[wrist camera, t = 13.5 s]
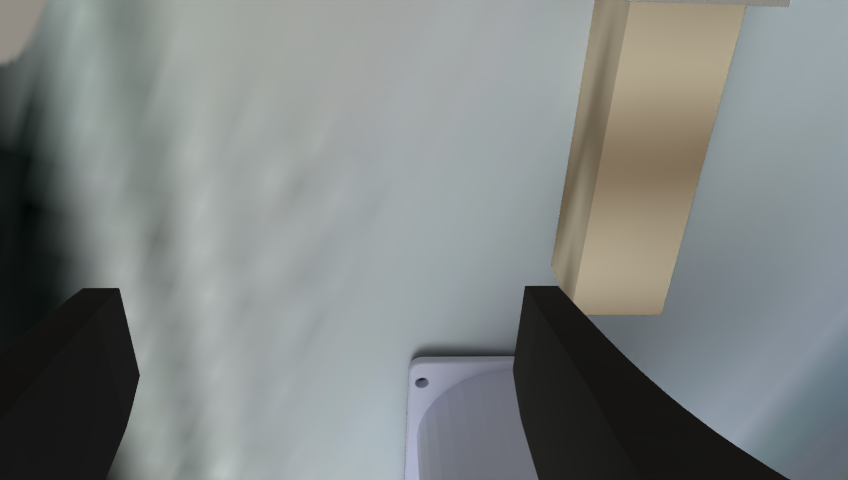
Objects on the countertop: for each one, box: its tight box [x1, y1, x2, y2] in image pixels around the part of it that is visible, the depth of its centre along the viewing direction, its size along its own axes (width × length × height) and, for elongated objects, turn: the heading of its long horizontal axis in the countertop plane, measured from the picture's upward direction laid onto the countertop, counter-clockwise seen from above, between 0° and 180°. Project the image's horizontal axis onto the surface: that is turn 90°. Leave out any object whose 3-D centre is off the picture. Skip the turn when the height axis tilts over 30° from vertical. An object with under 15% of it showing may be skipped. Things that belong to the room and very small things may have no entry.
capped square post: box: [551, 0, 790, 315], centre depth 20 cm, size 11×4×4 cm, turn 178°
